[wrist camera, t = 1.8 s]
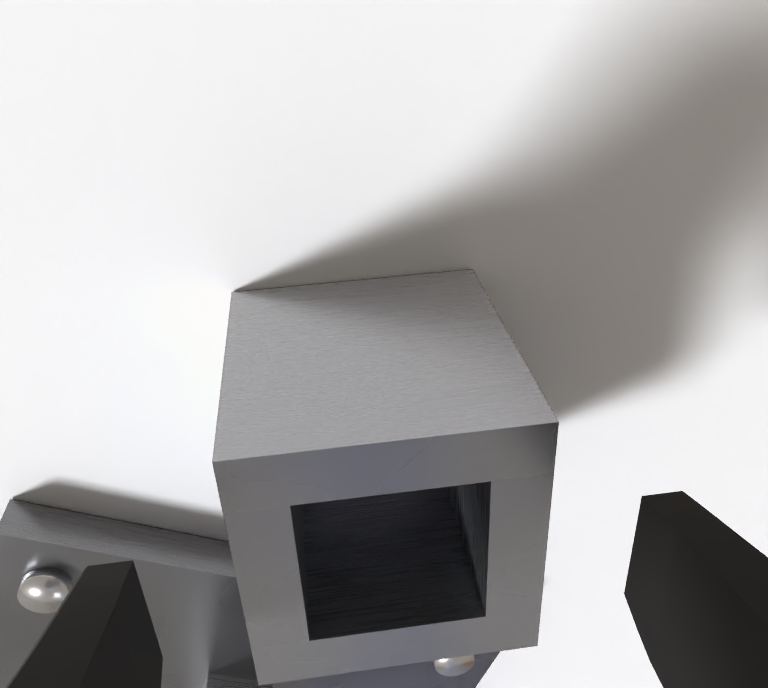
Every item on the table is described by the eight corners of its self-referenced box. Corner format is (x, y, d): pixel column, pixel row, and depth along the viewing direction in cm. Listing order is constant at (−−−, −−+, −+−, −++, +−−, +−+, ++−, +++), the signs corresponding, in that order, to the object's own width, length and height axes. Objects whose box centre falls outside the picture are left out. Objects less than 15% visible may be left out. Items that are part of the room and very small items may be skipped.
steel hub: (472, 269, 14) (559, 421, 10) (468, 456, 16) (537, 645, 12) (231, 291, 14) (212, 462, 9) (263, 480, 16) (258, 685, 12)
